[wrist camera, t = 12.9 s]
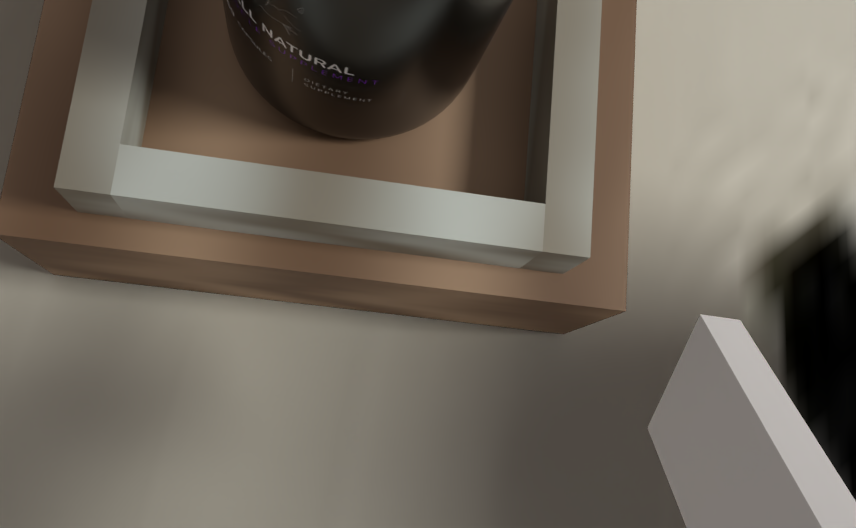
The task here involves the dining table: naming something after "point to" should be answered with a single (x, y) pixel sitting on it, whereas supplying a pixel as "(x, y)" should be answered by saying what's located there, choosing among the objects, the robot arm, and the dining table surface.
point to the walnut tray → (330, 171)
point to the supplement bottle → (361, 58)
